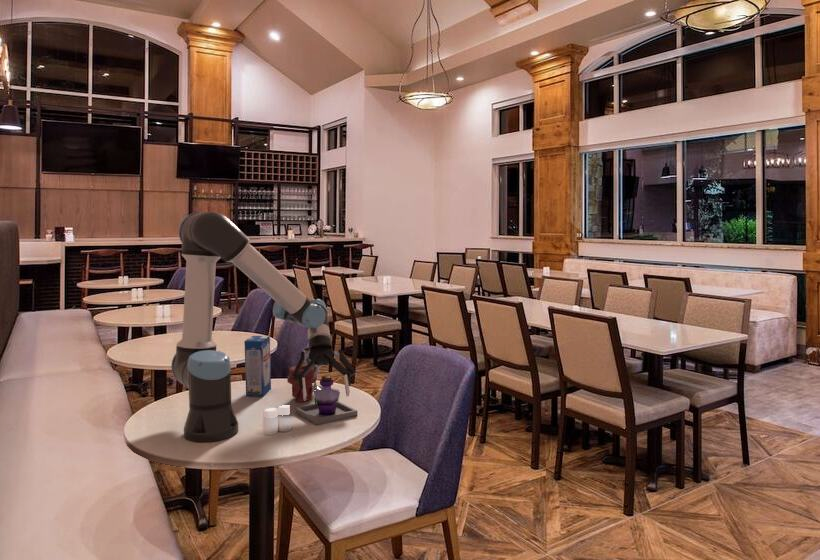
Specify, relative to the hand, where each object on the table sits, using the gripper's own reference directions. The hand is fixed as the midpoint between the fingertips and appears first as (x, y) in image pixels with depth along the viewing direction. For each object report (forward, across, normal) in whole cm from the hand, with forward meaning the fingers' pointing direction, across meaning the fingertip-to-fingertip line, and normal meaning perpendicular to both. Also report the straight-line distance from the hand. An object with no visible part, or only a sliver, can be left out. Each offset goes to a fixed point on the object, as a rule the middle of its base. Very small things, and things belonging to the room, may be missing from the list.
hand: (326, 396), depth 187 cm
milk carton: (-19, +20, -28) cm, 39 cm away
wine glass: (-19, 0, -28) cm, 34 cm away
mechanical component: (-10, +6, -19) cm, 22 cm away
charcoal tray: (+3, 0, -6) cm, 7 cm away
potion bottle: (+3, 0, -6) cm, 7 cm away
